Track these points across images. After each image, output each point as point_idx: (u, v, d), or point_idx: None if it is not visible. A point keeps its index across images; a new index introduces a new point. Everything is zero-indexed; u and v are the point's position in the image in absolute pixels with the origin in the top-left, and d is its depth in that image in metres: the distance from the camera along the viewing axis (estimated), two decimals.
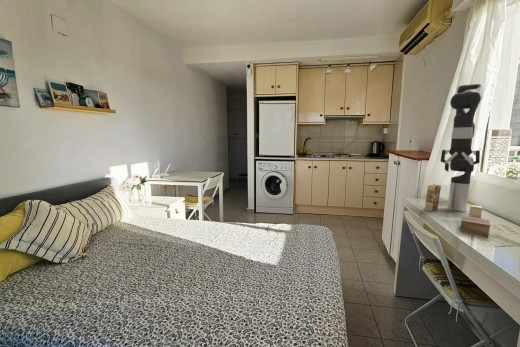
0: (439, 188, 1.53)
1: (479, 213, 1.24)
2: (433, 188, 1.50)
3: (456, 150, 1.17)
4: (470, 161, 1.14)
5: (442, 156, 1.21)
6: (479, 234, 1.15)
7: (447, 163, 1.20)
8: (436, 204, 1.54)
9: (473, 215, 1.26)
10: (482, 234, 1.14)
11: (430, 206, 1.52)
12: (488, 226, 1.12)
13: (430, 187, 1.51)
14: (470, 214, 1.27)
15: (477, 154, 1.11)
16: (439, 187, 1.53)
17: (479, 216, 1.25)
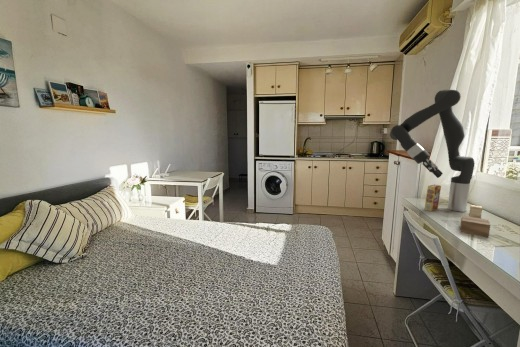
0: (439, 188, 1.53)
1: (479, 213, 1.24)
2: (433, 188, 1.50)
3: None
4: None
5: None
6: (479, 234, 1.15)
7: None
8: (436, 204, 1.54)
9: (473, 215, 1.26)
10: (482, 234, 1.14)
11: (430, 206, 1.52)
12: (488, 226, 1.12)
13: (430, 187, 1.51)
14: (470, 214, 1.27)
15: None
16: (439, 187, 1.53)
17: (479, 216, 1.25)
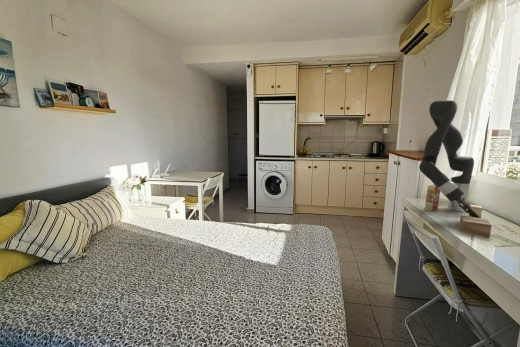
0: None
1: (479, 213, 1.24)
2: (433, 188, 1.50)
3: None
4: None
5: None
6: (481, 234, 1.15)
7: None
8: (436, 204, 1.54)
9: None
10: (484, 234, 1.14)
11: (430, 206, 1.52)
12: (490, 226, 1.12)
13: (430, 187, 1.51)
14: None
15: (460, 207, 1.26)
16: None
17: (479, 216, 1.25)
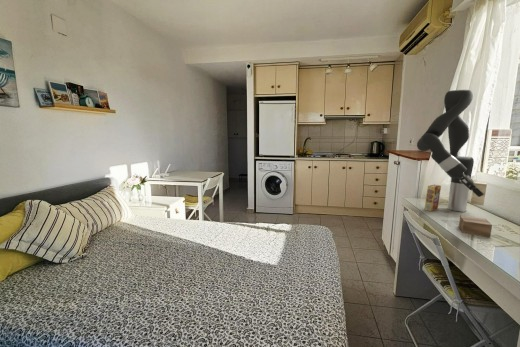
0: (439, 188, 1.53)
1: (483, 190, 1.14)
2: (433, 188, 1.50)
3: None
4: None
5: None
6: (481, 234, 1.15)
7: None
8: (436, 204, 1.54)
9: None
10: (484, 234, 1.14)
11: (430, 206, 1.52)
12: (490, 226, 1.13)
13: (430, 187, 1.51)
14: None
15: (463, 183, 1.16)
16: (439, 187, 1.53)
17: (483, 193, 1.14)
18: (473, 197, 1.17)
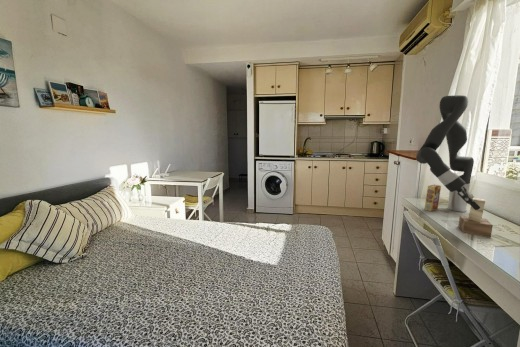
0: (439, 188, 1.53)
1: (481, 207, 1.15)
2: (433, 188, 1.50)
3: None
4: None
5: None
6: (482, 234, 1.15)
7: None
8: (436, 204, 1.54)
9: None
10: (485, 234, 1.14)
11: (430, 206, 1.52)
12: (491, 226, 1.13)
13: (430, 187, 1.51)
14: (472, 207, 1.18)
15: (460, 196, 1.17)
16: (439, 187, 1.53)
17: (481, 210, 1.15)
18: (471, 213, 1.18)
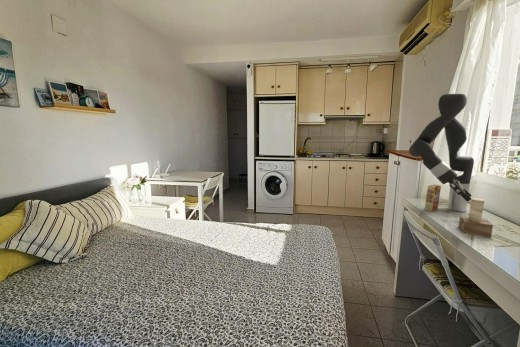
0: (439, 188, 1.53)
1: (481, 207, 1.15)
2: (433, 188, 1.50)
3: None
4: None
5: None
6: (482, 234, 1.15)
7: None
8: (436, 204, 1.54)
9: (474, 209, 1.17)
10: (485, 234, 1.14)
11: (430, 206, 1.52)
12: (491, 226, 1.13)
13: (430, 187, 1.51)
14: (471, 208, 1.18)
15: (452, 188, 1.18)
16: (439, 187, 1.53)
17: (481, 210, 1.15)
18: (471, 213, 1.18)
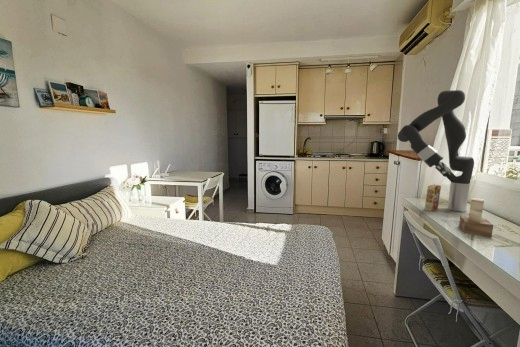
0: (439, 188, 1.53)
1: (480, 207, 1.15)
2: (433, 188, 1.50)
3: None
4: None
5: None
6: (483, 234, 1.15)
7: None
8: (436, 204, 1.54)
9: (474, 209, 1.17)
10: (485, 234, 1.14)
11: (430, 206, 1.52)
12: (491, 226, 1.13)
13: (430, 187, 1.51)
14: (471, 208, 1.18)
15: None
16: (439, 187, 1.53)
17: (480, 210, 1.15)
18: (470, 213, 1.18)
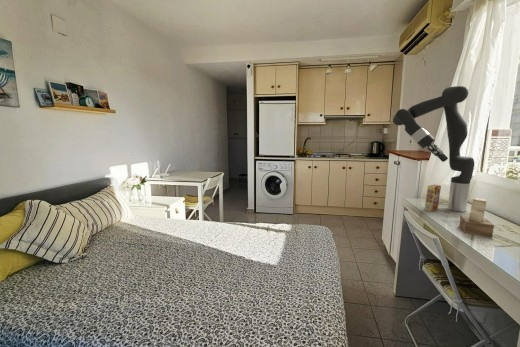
0: (439, 188, 1.53)
1: (482, 207, 1.15)
2: (433, 188, 1.50)
3: None
4: None
5: None
6: (483, 234, 1.14)
7: None
8: (436, 204, 1.54)
9: (475, 208, 1.17)
10: (486, 234, 1.14)
11: (430, 206, 1.52)
12: (492, 226, 1.13)
13: (430, 187, 1.51)
14: (472, 207, 1.18)
15: (429, 150, 1.31)
16: (439, 187, 1.53)
17: (481, 210, 1.15)
18: (471, 213, 1.18)
